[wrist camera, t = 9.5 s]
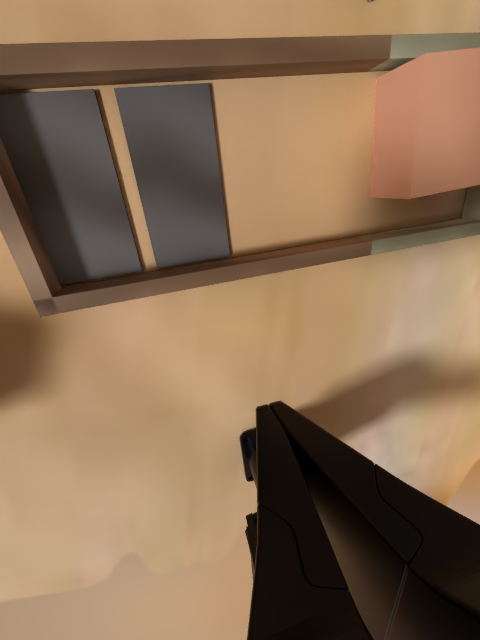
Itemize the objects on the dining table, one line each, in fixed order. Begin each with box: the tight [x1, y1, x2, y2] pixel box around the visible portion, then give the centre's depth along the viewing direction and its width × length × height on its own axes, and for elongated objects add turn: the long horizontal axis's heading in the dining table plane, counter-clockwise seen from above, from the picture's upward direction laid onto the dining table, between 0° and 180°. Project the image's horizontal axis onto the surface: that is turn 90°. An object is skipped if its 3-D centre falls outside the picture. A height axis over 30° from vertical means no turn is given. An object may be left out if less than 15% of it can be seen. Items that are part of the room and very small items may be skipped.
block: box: [370, 47, 480, 199], centre depth 19 cm, size 7×7×4 cm
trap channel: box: [0, 33, 480, 317], centre depth 17 cm, size 12×34×4 cm, turn 96°
